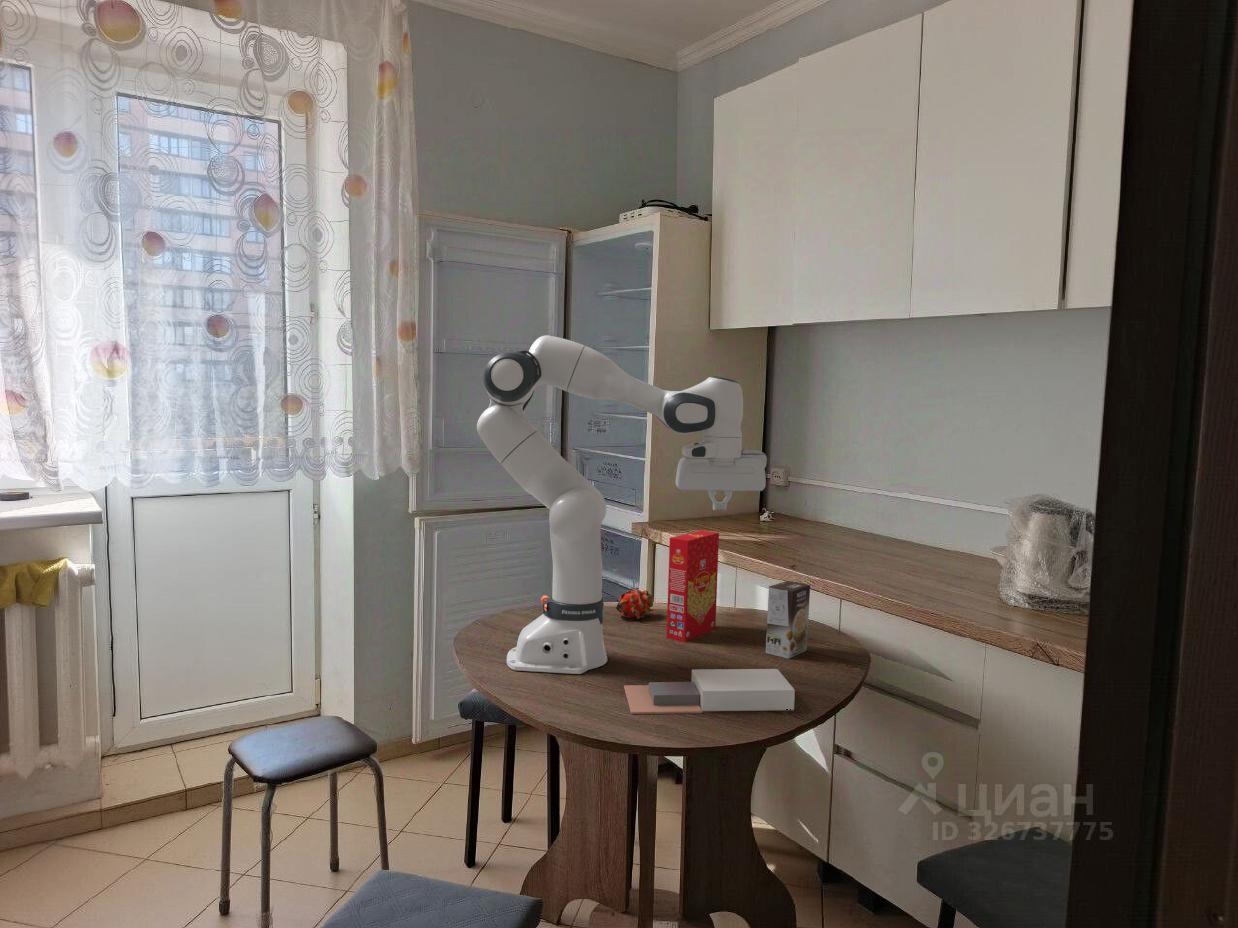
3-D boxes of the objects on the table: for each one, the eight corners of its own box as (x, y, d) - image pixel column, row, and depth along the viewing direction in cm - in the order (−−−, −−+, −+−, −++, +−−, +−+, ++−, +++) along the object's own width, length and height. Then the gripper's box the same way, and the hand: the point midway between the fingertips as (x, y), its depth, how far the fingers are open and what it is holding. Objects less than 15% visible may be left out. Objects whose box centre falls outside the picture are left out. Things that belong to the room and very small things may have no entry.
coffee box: (789, 659, 192) (792, 591, 190) (764, 653, 196) (767, 586, 194) (807, 650, 199) (810, 584, 197) (783, 644, 203) (786, 579, 201)
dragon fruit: (656, 620, 226) (619, 633, 220) (639, 597, 231) (603, 609, 225) (664, 600, 221) (627, 613, 214) (648, 577, 226) (611, 588, 219)
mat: (631, 714, 158) (631, 711, 158) (623, 687, 171) (624, 685, 171) (702, 713, 159) (702, 711, 159) (689, 686, 173) (689, 684, 173)
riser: (702, 711, 160) (703, 690, 160) (691, 688, 172) (691, 669, 171) (793, 709, 162) (794, 689, 161) (776, 687, 174) (777, 668, 173)
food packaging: (684, 642, 203) (688, 540, 200) (666, 637, 206) (669, 537, 203) (715, 628, 214) (719, 532, 212) (697, 624, 218) (701, 530, 215)
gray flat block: (653, 705, 161) (653, 695, 161) (648, 691, 168) (648, 682, 168) (699, 704, 162) (699, 694, 162) (692, 691, 169) (692, 681, 169)
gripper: (763, 448, 192) (760, 508, 193) (675, 447, 190) (673, 507, 191) (770, 451, 186) (768, 512, 187) (680, 449, 184) (678, 511, 185)
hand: (719, 510), depth 189 cm, fingers closed
